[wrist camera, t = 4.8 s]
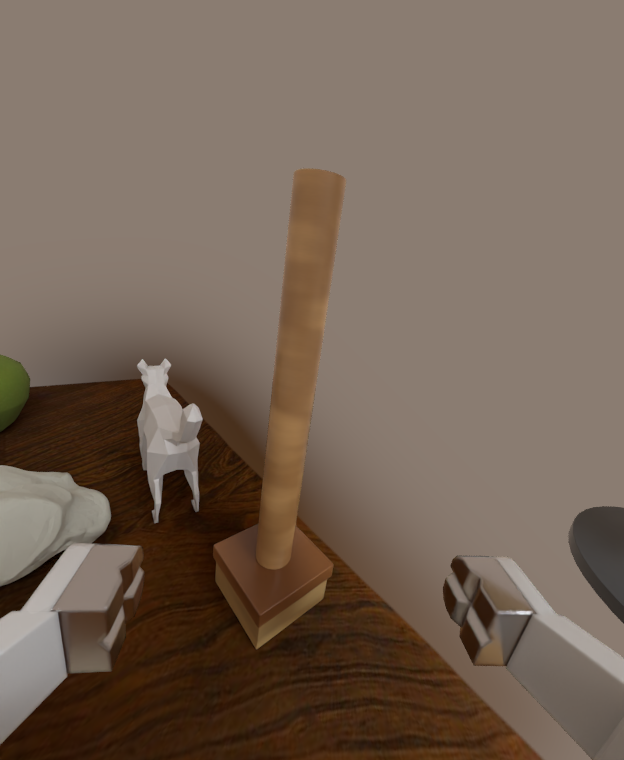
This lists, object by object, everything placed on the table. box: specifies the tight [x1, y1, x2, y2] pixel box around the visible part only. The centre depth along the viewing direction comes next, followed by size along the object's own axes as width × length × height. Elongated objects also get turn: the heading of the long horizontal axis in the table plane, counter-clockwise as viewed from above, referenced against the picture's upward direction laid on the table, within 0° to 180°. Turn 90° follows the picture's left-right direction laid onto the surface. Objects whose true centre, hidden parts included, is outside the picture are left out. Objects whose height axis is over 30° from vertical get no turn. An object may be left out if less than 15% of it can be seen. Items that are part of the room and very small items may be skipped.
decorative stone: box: [0, 465, 111, 586], centre depth 24 cm, size 11×9×10 cm
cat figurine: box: [137, 359, 203, 523], centre depth 32 cm, size 4×20×14 cm, turn 32°
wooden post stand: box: [213, 169, 346, 650], centre depth 21 cm, size 6×6×28 cm
